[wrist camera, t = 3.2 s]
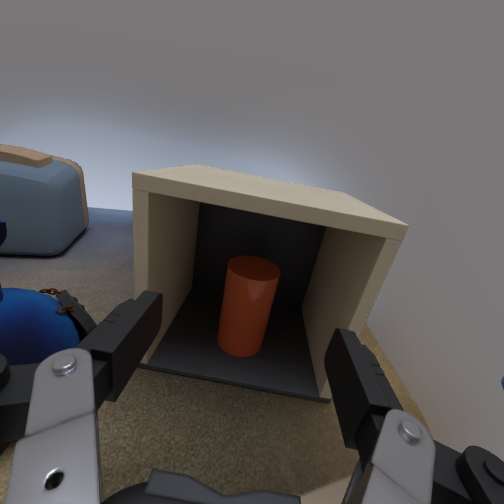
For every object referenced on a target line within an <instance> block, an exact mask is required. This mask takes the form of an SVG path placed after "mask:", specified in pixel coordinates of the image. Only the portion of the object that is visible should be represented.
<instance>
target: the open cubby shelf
mask: <svg viewBox="0 0 504 504" xmlns="http://www.w3.org/2000/svg"><path fill="white" fill-rule="evenodd" d="M132 188H133V248H134V300H136V299H137V298H138V297H139V296H140V294H141V293H142V292H143V291H145V290H147V291H152V292H157V293H162V294H163V309H162V324H161V327H160V330H159V333H158V335H157V336H156V338H155V339H154V341H153V343H152V344H151V346H150V347H149V349H148V351H147V352H146V354H145V355H144V357H143V359H142V360H141V362H140V363H139V365H138V367H141V368H147V369H152V370H157V371H162V372H168V373H173V374H178V375H183V376H189V377H194V378H199V379H204V380H210V381H215V382H220V383H225V384H231V385H236V386H241V387H246V388H252V389H257V390H262V391H267V392H273V393H278V394H283V395H288V396H294V397H299V398H304V399H309V400H315V401H320V402H325V403H329V402H330V400H331V398H332V394H331V390H330V386H329V382H328V378H327V375H326V371H325V367H324V357H325V353H326V350H327V347H328V345H329V342H330V340H331V337H332V335H333V332H334V330H335V329H336V328H340V329H345V330H350V331H354V332H355V333H356V335H357V337H358V338H359V336H360V333H361V331H362V329H363V327H364V325H365V322H366V320H367V318H368V316H369V313H370V311H371V309H372V307H373V305H374V302H375V300H376V298H377V296H378V293H379V291H380V289H381V287H382V285H383V282H384V280H385V278H386V276H387V274H388V271H389V269H390V267H391V264H392V263H393V260H394V258H395V256H396V254H397V252H398V249H399V247H400V245H401V243H402V240H403V238H404V236H405V234H406V232H407V230H408V227H409V225H407V224H405V223H403V222H401V221H399V220H397V219H395V218H393V217H391V216H389V215H387V214H385V213H383V212H381V211H379V210H377V209H375V208H373V207H371V206H369V205H367V204H365V203H363V202H361V201H359V200H357V199H355V198H353V197H351V196H349V195H347V194H345V193H343V192H338V191H332V190H327V189H322V188H317V187H312V186H306V185H302V184H296V183H291V182H286V181H281V180H276V179H270V178H265V177H260V176H255V175H249V174H245V173H239V172H234V171H229V170H224V169H219V168H214V167H208V166H203V165H198V164H195V165H188V166H179V167H170V168H162V169H154V170H145V171H137V172H132ZM244 255H247V256H256V257H260V258H263V259H266V260H269V261H271V262H272V263H274V264H275V265H277V266H278V268H279V269H280V271H281V275H280V279H279V283H278V287H277V290H276V294H275V298H274V302H273V306H272V310H271V314H270V318H269V322H268V326H267V330H266V334H265V338H264V342H263V345H262V348H261V349H260V351H259V352H257V353H256V354H254V355H252V356H248V357H237V356H233V355H230V354H228V353H226V352H225V351H224V350H223V349H221V347H220V346H219V345H218V342H217V339H216V335H217V329H218V322H219V316H220V309H221V303H222V296H223V290H224V283H225V277H226V270H227V264H228V261H229V260H230V259H231V258H233V257H236V256H244Z"/></svg>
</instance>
